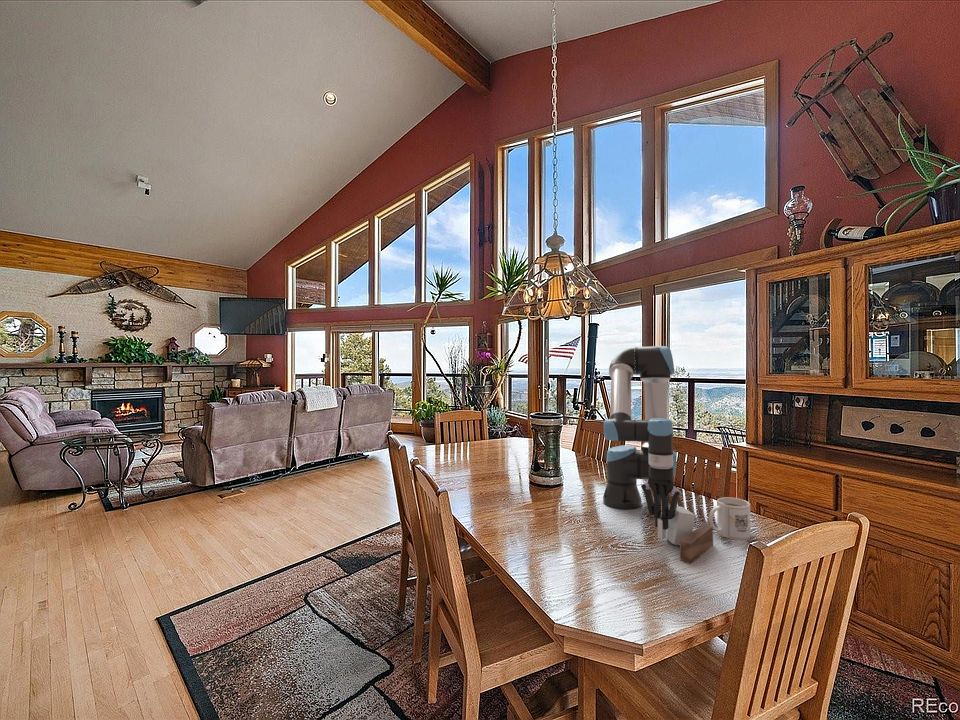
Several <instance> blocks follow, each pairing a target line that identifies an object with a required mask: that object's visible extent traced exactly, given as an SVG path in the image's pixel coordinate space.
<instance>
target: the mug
mask: <svg viewBox="0 0 960 720" xmlns="http://www.w3.org/2000/svg"><path fill="white" fill-rule="evenodd" d="M715 513H717V515H716V521H717V522H716V523H717V527H716V526H715V524H714V515H715ZM708 523H709V526H713V530H715V531H716V532H717V534H719V535H720V536H722V537H724V538H727V539H730V540H736V541H745V539H746V540H749V539H750V538H751V537H752V536H751V535H752V533H751V527H752V526H751V525H752V523H751V503H750V502H749V501H747V500H744V499H742V498H738V497H730V496H728V497H719V498H717V500H716V506H713V508H711V509H710V512H709V514H708Z"/></svg>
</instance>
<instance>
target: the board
mask: <svg viewBox="0 0 960 720" xmlns="http://www.w3.org/2000/svg"><path fill="white" fill-rule="evenodd" d="M713 545H714V529H713V526H711V525H710V524H709V525H708V524H704V523H702V524H701V525H700V526H698V527H697V528H695V529H693V532H692V533H690V534H689V535H688V536H686V537H685V538H684V539H682V540H681V541H680V545H679V552H680V553H679V556H680V559H679V560H680V562H682V563H685V564H687V565H688V564H689V565H692V564H693V563H694V562H695V561H696V560H698V559H699V558H700V557H701V556H702V555H703V554H704V553H706V552H707V551H708V550H709V549H710V548H711V547H713Z"/></svg>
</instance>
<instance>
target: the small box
mask: <svg viewBox="0 0 960 720" xmlns="http://www.w3.org/2000/svg"><path fill="white" fill-rule="evenodd" d="M669 509H670V504H669ZM695 520H696V513H695V514H694V513H693V512H691V511H690V510H688V509H687V508H685V507H684V506H680V505H679V506H678V505H677V508H676V512H675V516H674V518H672V519H668V529H667V530H666V538H665V539H667V540H668V541H669V542H670V543H671V544H673V546H674V545H675V546H680V541H681V540H682V539H684V538H685V537H686V536H688V535H689V534H690V533H692V532H693V531H694V527H695V526H694V525H695Z"/></svg>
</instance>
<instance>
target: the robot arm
mask: <svg viewBox="0 0 960 720" xmlns="http://www.w3.org/2000/svg"><path fill="white" fill-rule="evenodd" d="M672 353H673V352H672V350H671V348H670V347H669V346H665V345H652V346H650V345H649V346H629V347H628V346H627V347H626V348H623V349H622V350H620V351H619V352H618V353H617V354H616V355H614V357H613V358H612V360H611V362H610V364H609V368H608V375H609V377H610V379H611V380H610V403H609V405H610V410H609V418H608V419H604V422H603V438H604V439H605V440H607V441H613V442H614V441H615V442H638V443H640V442H641V443H642V444H641V449H637V448H636V446H635V445H629V444H627V445H626V444H624V445H619V446H618V445H617V446H613V447H610V448H609V449H608V450H607V451H606V460H605V461H606V478H607V479H606V480H607V481H606V482H607V483H606V487H605V489H604V492H603V495H602V501H603V502H602V503H604V504H605V506H607V507H611V508H614V509H620V510H633V509H637V508H640V507H641V506H643V504H642V502H643V501H642V497H641V494H640V492H639V488H638V484H637V483H638V482H637V481H638V480H646V481H647V482H646V483H642V484H641V486H640V487H641V489H642V491H643V493H644V497H645V501H646V505H647V510H648V514H649V515H651V516H653V517H654V525H655V528H657V539H658V540H661V541H663V540H664V539H667V538H666V530H667V529H668V519H672V518H674V516H675V512H676V508H677V506H678V504H679V500H680V497H681V496H682V494H683V491H682V490H680V489H678V488H677V487H676V484H675V482H674V478H675V475H676V471H677V470H676V469H677V454H678V453H677V452H676V451H674V450H673V449H674V448H673V447H674V446H673V445H674V442H673V441H674V440H673V439H674V437H673V436H674V435H673V433H674V428H673V421H672V419H669V418H668V389H667V388H668V386H667V385H668V382H669V381H670V380H671V378H672V377H671V375H674V374H675V364H674V359H673V354H672ZM634 375H636V376H637V375H638V376H640V377H639V378H640V381H642V383H643V385H644V386H643V389H644V419H632V378H633V377H634ZM652 492H653V493H652ZM670 494H672V497H671V501H669V500H670V499H669V498H670ZM669 502H670V503H669ZM669 505H670V509H669Z"/></svg>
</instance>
